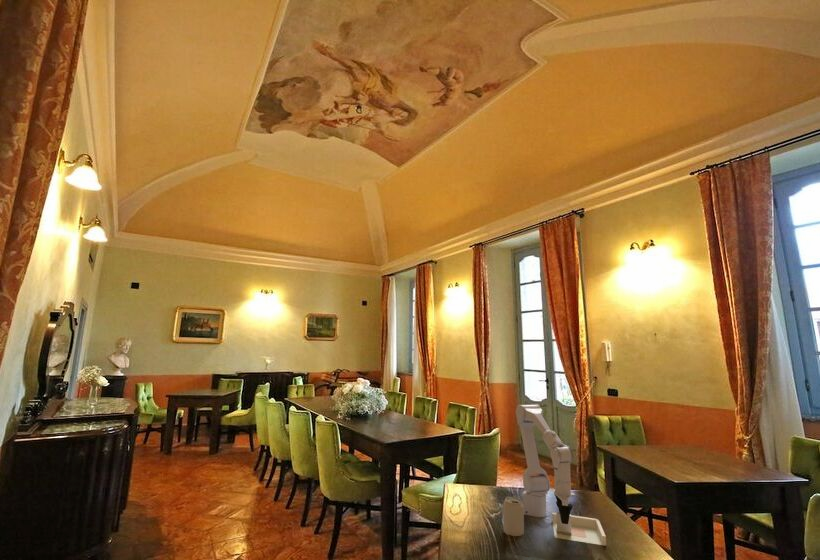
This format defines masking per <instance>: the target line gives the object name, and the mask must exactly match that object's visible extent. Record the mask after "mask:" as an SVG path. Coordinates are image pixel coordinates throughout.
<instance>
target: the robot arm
mask: <svg viewBox="0 0 820 560" xmlns="http://www.w3.org/2000/svg"><path fill="white" fill-rule="evenodd" d="M543 414H544V411H543V409H542V408H541V406H540V404H538V403H537V404H518V405H517V407H516V409H515V415H516V416H515V417H516V421H517V425H518V426H519V427H520V433H521V438H522V444H523V450H524V454H525V455H524V456H525V460H526V465H527V467H526V469H525V470H524V471H523V473H522V478H523V479H522V485H523V489H524V491H523V492H522V504H523V505H524V516H532V517H535V518H545V517H546V516H547V495H548V492H549V491H550V489H551V482H550V481H551V480H550V478H549V476H548V473H547V471H546V470H545V469H544V468H542V467H541V463H540V459H539V453H538V449H537V444H536V440H535V433H534V431H533V430H534V427H536V428H537V429H538V430H539V431H540V433H541V434H542V441H543V442H544V443H545V446H547V448H548V450H549V451H550V458H551V461H552V467H553V468H554V469H553V471H554V473H553V474H554V475H553V476H554V477H553V478H554V491H553V492H554V493H553V494H554V497H555V499H556V502H555V504H556V507H557V508H558V511H559V513H560V517H561V522H562V524H568V522H569V516H570V515H571V512H572V510H573V508H574V505H573V504H572V503H569V501H570V499H571V498H574V497H576V496H575V492H572V482H571V481H572V479H571V463H572V462H573V461H574V453H573V450H572V449H571V447H570V446H569V445H567V444H566V443H565V444H564V443H563V441H562V440H561V438H560V437H559V436H558V433H556V431H555V430H551V428H550V427H549V425H548V423H547V422H546V420H545V418H544V416H543Z"/></svg>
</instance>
